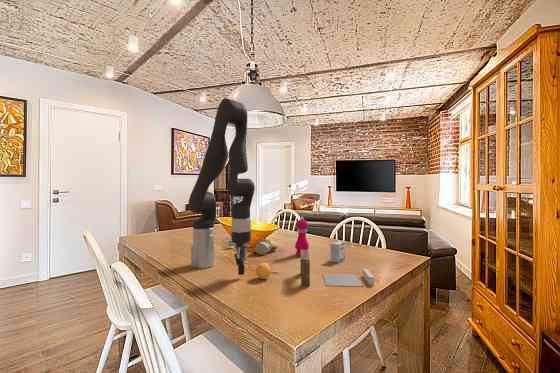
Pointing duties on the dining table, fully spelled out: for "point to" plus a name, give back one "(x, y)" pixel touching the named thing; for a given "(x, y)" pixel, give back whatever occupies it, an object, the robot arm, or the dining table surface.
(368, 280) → the stopper wall
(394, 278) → the dining table surface
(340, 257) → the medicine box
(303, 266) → the bridge
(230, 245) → the coffee cup
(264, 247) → the ceramic sculpture
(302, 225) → the magenta tall lumpy piece
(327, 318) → the dining table surface
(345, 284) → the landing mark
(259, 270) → the ball
